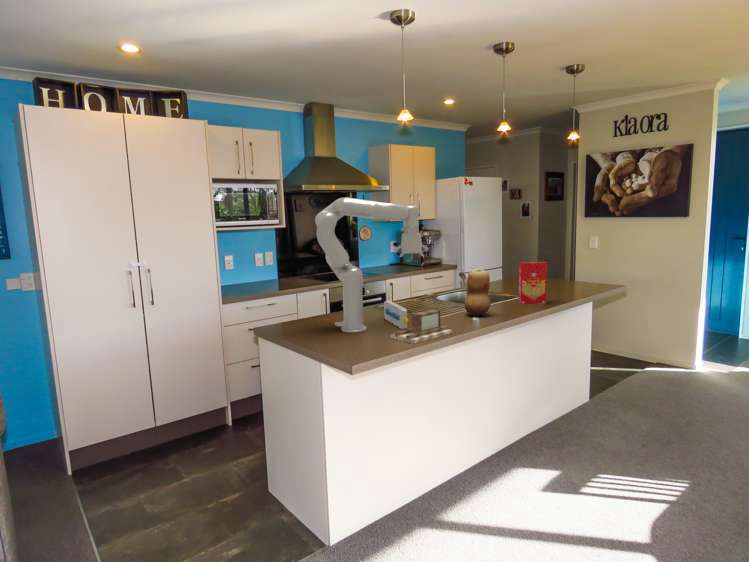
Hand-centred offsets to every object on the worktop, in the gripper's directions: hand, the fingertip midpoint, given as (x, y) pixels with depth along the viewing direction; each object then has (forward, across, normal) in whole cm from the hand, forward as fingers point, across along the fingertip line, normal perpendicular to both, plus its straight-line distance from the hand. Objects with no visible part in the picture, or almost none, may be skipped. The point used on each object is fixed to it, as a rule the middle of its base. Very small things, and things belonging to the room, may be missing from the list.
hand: (411, 264), depth 241 cm
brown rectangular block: (+29, +4, -23) cm, 37 cm away
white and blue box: (+31, -9, -2) cm, 32 cm away
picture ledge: (+30, +2, -25) cm, 39 cm away
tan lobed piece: (+31, +36, +13) cm, 49 cm away
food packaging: (+31, +75, +39) cm, 90 cm away
